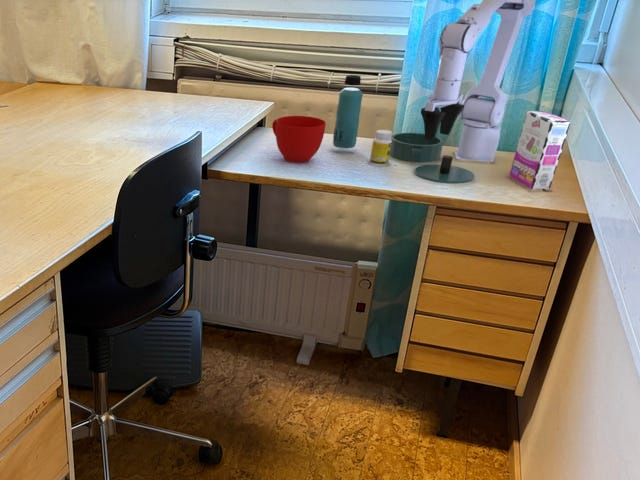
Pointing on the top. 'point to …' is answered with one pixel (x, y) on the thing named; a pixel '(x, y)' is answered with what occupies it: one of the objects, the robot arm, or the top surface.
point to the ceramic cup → (298, 137)
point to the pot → (415, 147)
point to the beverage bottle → (348, 114)
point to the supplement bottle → (381, 147)
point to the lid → (444, 172)
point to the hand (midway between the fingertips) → (436, 136)
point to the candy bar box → (539, 149)
